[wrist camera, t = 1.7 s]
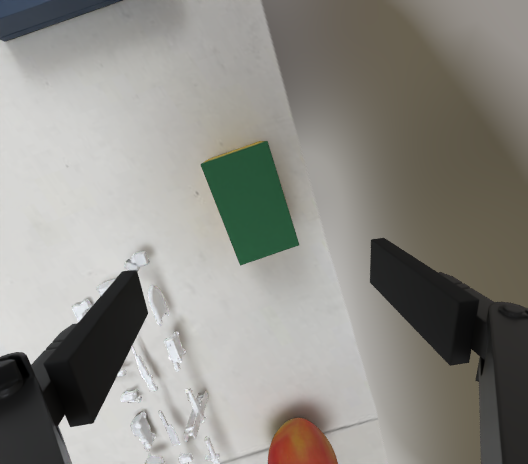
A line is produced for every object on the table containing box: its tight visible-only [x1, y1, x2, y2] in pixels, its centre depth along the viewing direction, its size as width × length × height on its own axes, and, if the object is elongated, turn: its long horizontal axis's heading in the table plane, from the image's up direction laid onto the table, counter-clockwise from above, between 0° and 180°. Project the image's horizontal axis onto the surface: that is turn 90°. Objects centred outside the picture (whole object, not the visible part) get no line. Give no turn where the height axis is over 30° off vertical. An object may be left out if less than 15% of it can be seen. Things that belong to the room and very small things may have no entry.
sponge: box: [201, 141, 299, 265], centre depth 29 cm, size 10×6×7 cm, turn 18°
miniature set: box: [72, 251, 220, 464], centre depth 36 cm, size 6×35×12 cm
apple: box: [268, 418, 338, 464], centre depth 39 cm, size 10×10×10 cm
